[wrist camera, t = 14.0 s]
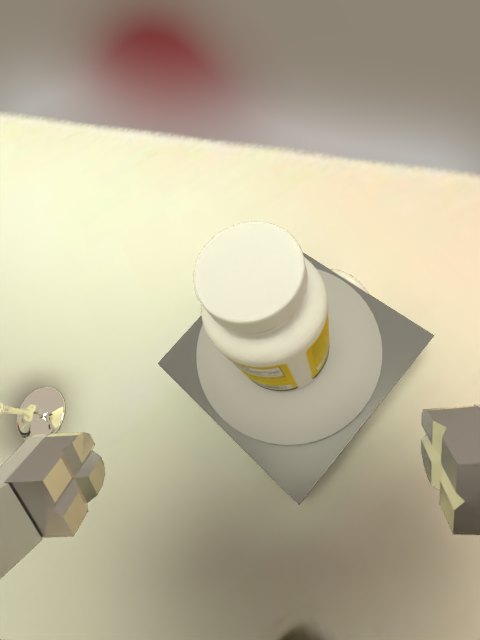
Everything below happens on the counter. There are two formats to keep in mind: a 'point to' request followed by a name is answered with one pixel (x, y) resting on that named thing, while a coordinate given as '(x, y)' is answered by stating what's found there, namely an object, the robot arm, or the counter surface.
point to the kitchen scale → (315, 398)
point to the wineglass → (38, 412)
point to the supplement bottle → (264, 305)
